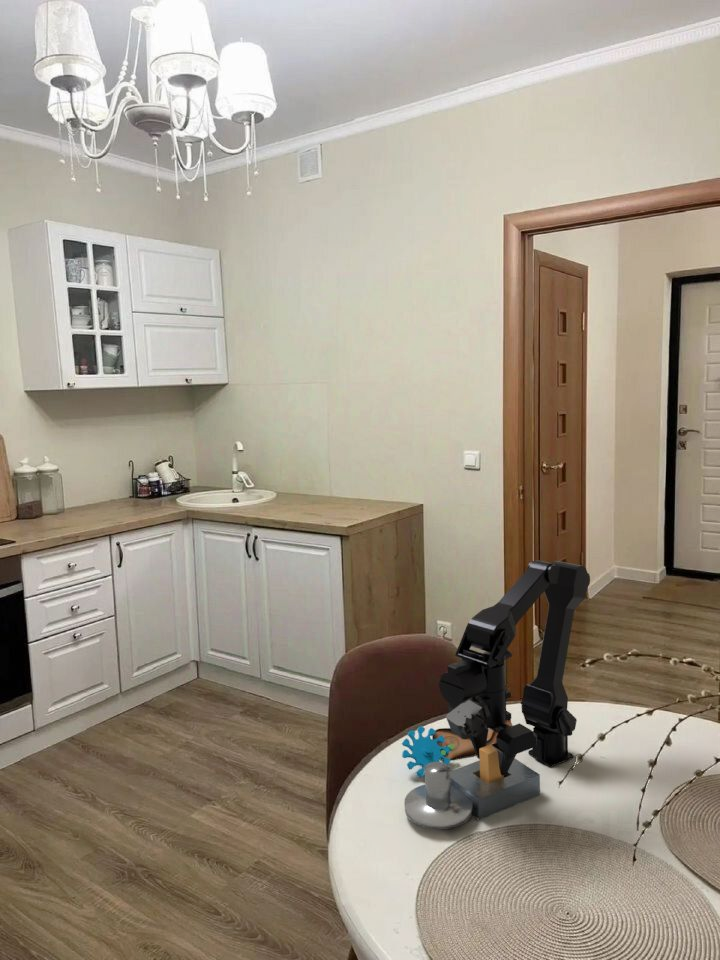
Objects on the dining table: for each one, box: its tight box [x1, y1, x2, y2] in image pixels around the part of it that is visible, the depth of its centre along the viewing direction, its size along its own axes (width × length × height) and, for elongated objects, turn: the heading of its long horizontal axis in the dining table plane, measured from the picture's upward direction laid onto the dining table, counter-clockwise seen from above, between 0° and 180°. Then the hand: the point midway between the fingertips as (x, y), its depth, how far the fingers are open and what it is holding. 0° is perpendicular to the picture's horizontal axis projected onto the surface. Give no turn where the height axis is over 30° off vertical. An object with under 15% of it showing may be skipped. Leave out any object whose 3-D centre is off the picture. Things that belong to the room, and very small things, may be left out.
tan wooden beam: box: [478, 743, 504, 784], centre depth 137 cm, size 4×2×9 cm
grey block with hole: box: [403, 757, 541, 830], centre depth 134 cm, size 25×12×9 cm, turn 119°
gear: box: [401, 726, 454, 778], centre depth 148 cm, size 11×6×10 cm
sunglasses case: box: [431, 718, 514, 762], centre depth 155 cm, size 18×7×7 cm, turn 103°
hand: (491, 766), depth 137 cm, fingers open, 6 cm apart
